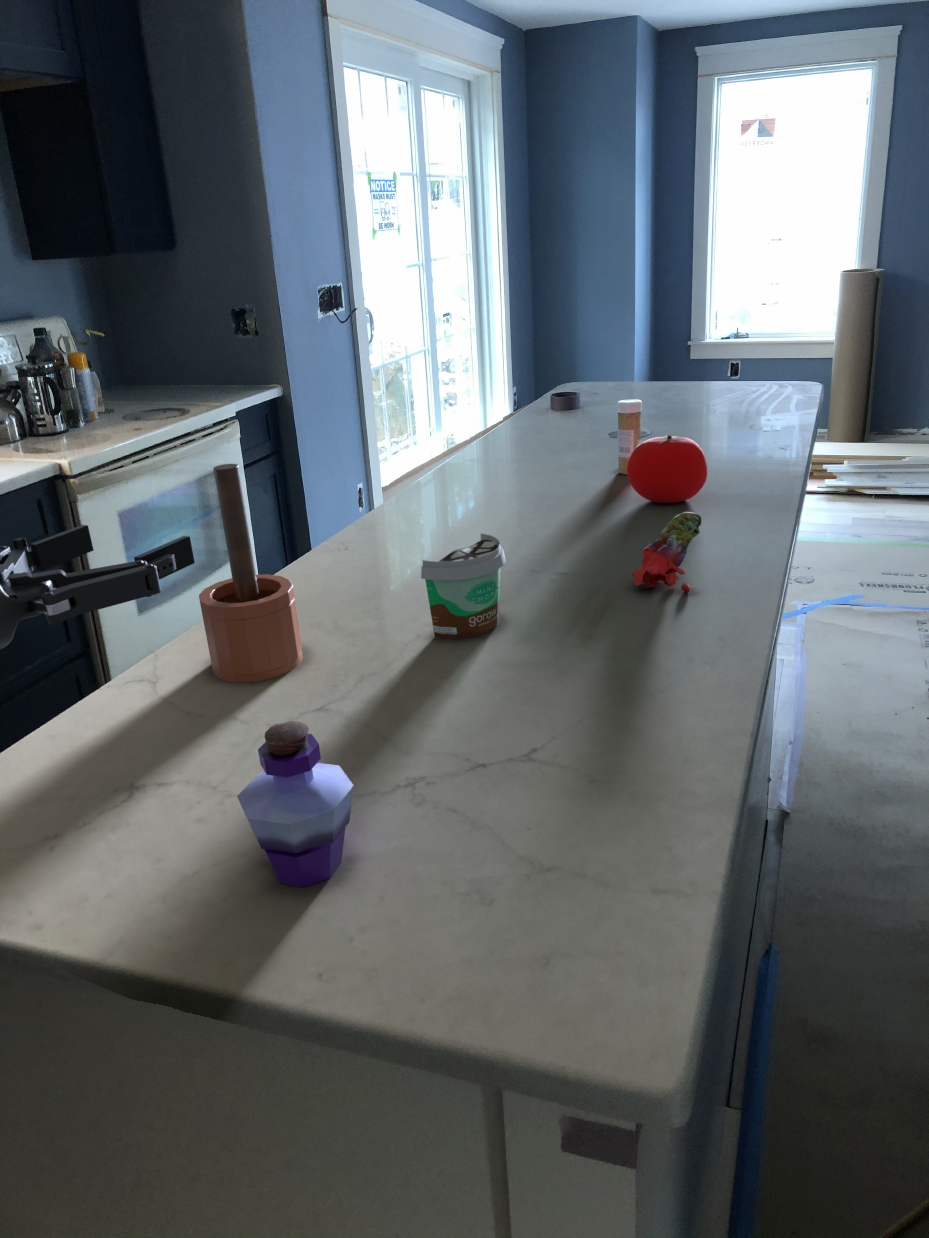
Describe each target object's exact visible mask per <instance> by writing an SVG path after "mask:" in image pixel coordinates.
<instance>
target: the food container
mask: <svg viewBox="0 0 929 1238" xmlns="http://www.w3.org/2000/svg"><path fill="white" fill-rule="evenodd" d="M505 555H506V554H505V551H504V548H503V546H502V544H501V543H500V540H499V539H498V538H497V537H495V536H493V535H490V534H486V533H483V532H480V540H478V541H477V542H476V543H473V544H471V545H469V546H467V547H462V548H458V549H454V550H453V551H451V552H450V553H448V554H447V555H445V556H444V557H443V558H441V559H440V560H438V561H434V560H433V561H431V560H426V559H422V566H421V574H420V575H421V576H420V579H422V580H425V587H426V593H427V598H428V599H427V600H428V605H429V610H430V617H431V623H432V629H433V630H432V631H433V635H434V638H437V639H442V640H467V639H472V638H477V637H481V636H484V635H486V634H487V635H488V634H489V633H490V632H492V631H494V630H495V629H496V628H497V627H498V626H499V621H500V620H499V619H500V618H499V616H500V589H501V588H500V586H501V585H500V584H501V583H500V582H501V568H502V567H503V566H504V565H505V563H506V560H507V559H506V556H505Z"/></svg>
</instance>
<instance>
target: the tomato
mask: <svg viewBox="0 0 929 1238" xmlns="http://www.w3.org/2000/svg"><path fill="white" fill-rule="evenodd" d="M691 438H692V437H687V436H672V434H668V435H664V436H659V437H656V436H655V437H651V438H649V439H646V440H643V441H641V444H640V445H638V446H637V447H636V448H635V449H634V451H633V452H632V454H631V456H630V459H629V461H628V465H627V474H626V476H627V479H628V482H629V484H630V486H631V487H632V489H633V490H634V491H635V492H636V493H637V495H639V496H641V497H642V498H643V499H645V500H647V501H651V502H654V503H658V504H675V503H680V502H685V501H687V500H690V499H692V498H693V497H694V496H696V495H697V494H698V493H699V492H700V491H701V490H702V488H703V487H704V486H705V483H706V481H707V477H708V465H707V460H706V457H705V454H704V453H705V452H704V451H703V450H702V448H701V447H700V445H699V444H698V443H697V442H695V441H694V440H693V439H691Z"/></svg>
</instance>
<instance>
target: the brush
mask: <svg viewBox="0 0 929 1238" xmlns="http://www.w3.org/2000/svg"><path fill="white" fill-rule="evenodd" d="M213 475H214V480H215V486H216V492H217V499H218V504H219V509H220V516H221V522H222V527H223V533H224V539H225V545H226V550H227V556H228V562H229V566H230V573H231V578H232V580H233V586H234V592H235V597H236V603H243V602H249V601H255V600H259V599H260V597H259V590H258V584H257V578H256V575H257V573H256V566H255V560H254V555H253V547H252V542H251V535H250V530H249V529H250V528H249V522H248V518H247V516H248V515H247V512H246V505H245V498H244V492H243V486H242V479H241V473H240V468H239V464H237V463H225V464H224V463H223V464H219V465H216V466H213Z"/></svg>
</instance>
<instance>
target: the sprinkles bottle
mask: <svg viewBox="0 0 929 1238" xmlns="http://www.w3.org/2000/svg"><path fill="white" fill-rule="evenodd" d="M642 411H643V402H642V400H641V399H634V398H633V399H631V398H630V399H622V400H618V401H617V403H616V412H617V456H618V459H617V460H618V468H617V472H618V473H619V474H621V475H627V465H628V461H629V459H630V456H631V454H632V452H633V451H634V449H635V448H636V447H637V446H638V445H640V444H641V443H642Z"/></svg>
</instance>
